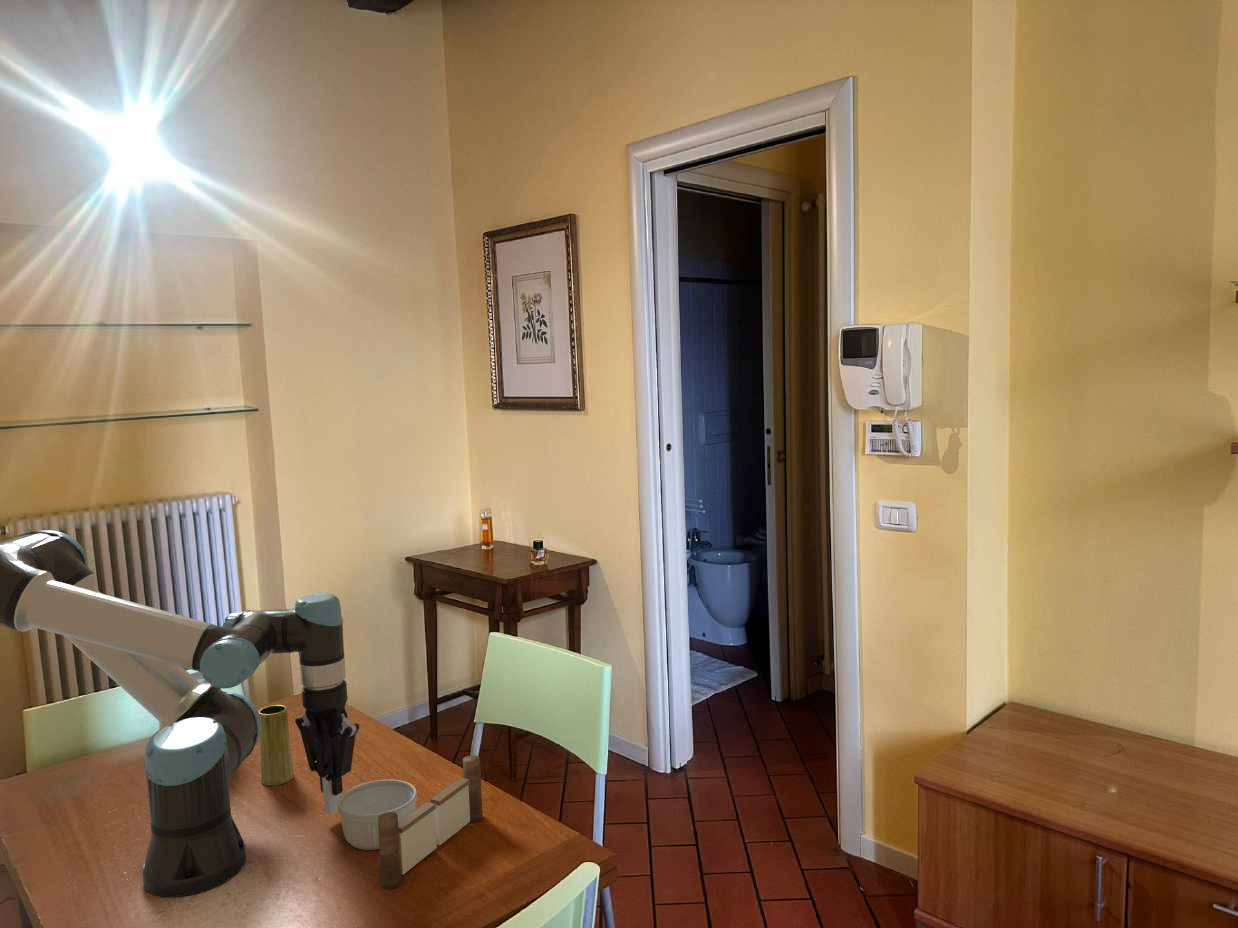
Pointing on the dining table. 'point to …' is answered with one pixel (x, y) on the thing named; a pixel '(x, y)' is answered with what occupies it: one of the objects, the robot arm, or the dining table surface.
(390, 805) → the ramekin
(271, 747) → the vase
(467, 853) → the dining table surface
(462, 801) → the right leaf
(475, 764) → the gate posts
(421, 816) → the left leaf
